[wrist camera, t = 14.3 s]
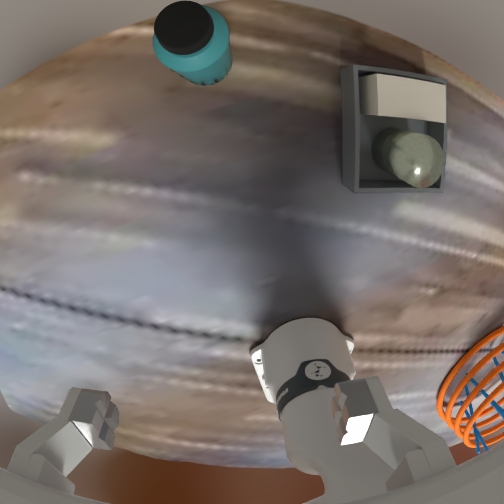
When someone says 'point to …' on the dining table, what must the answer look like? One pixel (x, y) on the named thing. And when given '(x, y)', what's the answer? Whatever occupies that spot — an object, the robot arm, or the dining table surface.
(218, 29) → the beverage bottle
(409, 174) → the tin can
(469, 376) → the orange spiral coil rods
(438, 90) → the cream rectangular block
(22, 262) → the dining table surface
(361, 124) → the tote
